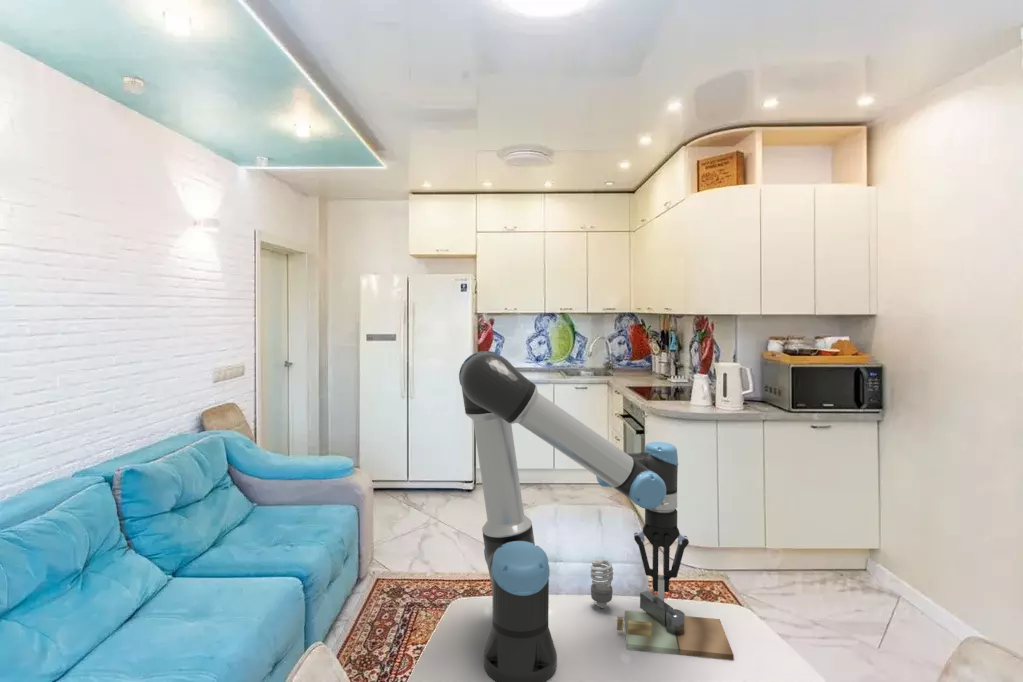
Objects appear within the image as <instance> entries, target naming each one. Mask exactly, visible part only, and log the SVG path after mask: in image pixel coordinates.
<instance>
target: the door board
mask: <svg viewBox="0 0 1023 682" xmlns="http://www.w3.org/2000/svg"><path fill="white" fill-rule="evenodd" d="M616 620H617V621H616V624H617V625H616V627H617V628H616V630H617V631H623V630H624V629H625V645H626V650H631V651H632V650H633V651H640V652H649V653H657V654H658V653H661V654H669V655H680V656H689V657H699V658H708V659H716V660H725V661H726V660H728V661H734V656H735V655H734V652H733V650H732V648H731V644H730V642H729V640H728V636H727V635H726V632H725V629H724V627H723V624H722V621H721V620H720V618H712V617H711V618H710V617H702V616H690V615H685V623H684V634H682V635H673V634H671V633H669V632H667V630H666V626H664V625H663V624H661V623H660V622H658V621H657V620H656V619H654V618H653V617H652V616H650V615H649V614H648V613H646V612H645V611H635V610H624V617H623V616H617V617H616ZM623 620H624V621H623ZM623 622H624V623H623ZM624 627H625V628H624Z"/></svg>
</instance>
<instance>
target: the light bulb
mask: <svg viewBox="0 0 1023 682" xmlns="http://www.w3.org/2000/svg"><path fill="white" fill-rule="evenodd" d="M591 564H592V565H590V578H591V583H592V584H591V585H590V586H591V587H590V595H591V596H590V597H591V599H592V600H593V601H594V602H595V603H596V606H597V607H599V608H600V609H603V608H606V607H607V604H608V603H609V602H611V601H612V599H613V592H614V591H613V587H612V581H613V580H614V572H613V571H614V568H613V565H612V563H611V562H610V561H609V560H608V559H594V560H592V561H591Z"/></svg>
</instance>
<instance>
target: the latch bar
mask: <svg viewBox="0 0 1023 682" xmlns="http://www.w3.org/2000/svg"><path fill="white" fill-rule="evenodd" d="M639 608H640V609H642V611H643V612H646V613H648V614H649V615H650V616H652V617H653V618H654V619H656V620H657V621H658V622H660V623H661V624H663V625H664V626H666V630H667V632H669V633H671V634H673V635H682V634H684V623H685V616H686V614H685V613H684V611H683V610H680V609H677V608H674V607H673V606H671V605H670V604H668V603H667V602H666V601H665V600H664V601H662V600H661V599H659V598H658V597H657V595H655V594H654V593H652V592H651V591H649V590H644V591H642V592H639Z"/></svg>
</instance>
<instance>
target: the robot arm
mask: <svg viewBox="0 0 1023 682" xmlns="http://www.w3.org/2000/svg"><path fill="white" fill-rule="evenodd" d="M460 366H461V367H460V368H459V372H458V380H459V385H460V386H461V392H462V399H463V407H464V412H465V415H466V416H467V417H469V418H470V419H471V420H472V422H473V427H474V434H475V442H476V449H477V455H478V457H477V458H478V464H479V469H480V477H481V484H482V491H483V492H482V493H483V499H484V505H485V512H486V518H487V520H486V522H485V524H484V525H483V526H482V536H483V537H482V538H483V545H484V549H483V552H484V553H483V554H484V555H483V556H484V559H485V563H486V565H487V570H488V574H489V579H490V585H491V591H492V626H491V629H490V633H489V635H488V639H487V642H486V645H485V648H484V653H483V667H484V670H485V672H486V673H487V675H488V677H490V678H491V679H492V680H494V681H496V682H546V681H547V680H549V679H550V678H551V677H553V676H554V675H555V673H556V670H557V665H558V663H557V661H558V660H557V659H558V655H557V654H558V653H557V650H556V646H555V643H554V639H553V636H552V634H551V631H550V628H549V608H550V607H549V604H550V603H549V601H550V599H549V594H550V593H549V592H550V591H549V588H550V587H549V586H550V584H549V583H550V580H549V579H550V571H551V570H550V564H549V559H548V557H549V556H548V555H547V553H546V551H545V550H544V549H543V548H542V547H540V546H539V545H536V543H535V536H534V528H533V523H532V519H530V518H529V517H528V516H526V515H525V512H524V506H523V499H522V497H523V496H522V491H521V484H520V477H519V475H520V474H519V470H518V469H519V468H518V462H517V456H516V455H517V453H516V447H515V441H514V434H513V427H512V426H513V424H519V425H520V426H522V427H523V428H525V429H526V430H528V431H529V432H531V433H532V434H534V435H535V436H537V437H538V438H539V439H541V440H542V441H544V442H545V443H546V444H548V445H550V446H551V447H553V448H554V449H555V450H556V451H557V450H558V451H559V452H560V453H562V454H563V455H564V456H566V457H568V458H569V459H571V460H572V461H574V462H576V464H578V465H580V466H581V467H583V468H584V469H586V470H587V471H588V472H590V473H591V474H593V475H595V477H596V480H597V483H598V485H600V486H601V487H606V488H607V487H608V488H614V489H615V490H616V491H618V492H619V493H621V494H622V495H624V496H625V497H627V498H628V499H629V500H631V502H632V503H634V505H636V506H638V507H639V508H642V509H644V526H643V527H642V530H640V531H639V532H634V534H633V537H634V539H633V540H634V541H635V543H636V544H637V546H638V548H639V553H640V556H641V561H642V565H643V569H644V574H645V575H646V576H647V577H651V578H652V590H653V592H657V593H656V597H658V598H659V599H661V600H662V601H664V602H665V593H669V592H670V580H671V579H672V578H673V579H676V578H677V577H678V574H679V570H680V567H681V563H682V559H683V556H684V553H685V549H686V548H687V547H688V546H689V543H690V542H689V538H688V536H687V535H683V534H682V533H680V530H679V528H678V510H677V509H678V473H679V472H678V468H679V467H678V466H679V461H678V460H679V459H678V449H677V447H676V446H675V445H673V444H672V443H670V442H666V441H665V442H664V441H652V442H648V443H646V444H645V448H644V451H643V452H629V453H628V452H627V453H626V451H624V450H622V449H620V448H619V447H617V446H616V445H615V444H614V443H612V442H611V441H610V440H608V439H606V438H604V437H603V436H601V434H599V433H597V432H596V431H594V430H593V429H592V428H590V427H588V425H586V424H584V423H583V422H582V421H580V420H579V419H577V418H576V417H575V416H573V415H571V414H570V413H568V411H565V410H564V409H562V407H560V406H558V405H557V404H555V403H554V402H552V401H551V400H550V399H548V398H547V397H545V396H544V395H542V394H541V393H539V391H538V386H537V385H536V384H535V383H533V382H532V380H531V381H530V379H528V378H527V377H525V376H524V375H523V374H522V373H521V372H520V371H519V370H518V369H517V368H516V367H515V366H514V365H513V364H512V363H511V362H510V360H508V359H506V358H505V357H503V356H502V355H500V354H499V353H497V352H494V351H491V350H485V351H484V350H481V351H477V352H475V353H472V354H471V355H469V356H468V357H467V358H466V359H464V361H463V363H462V364H461V365H460ZM645 537H646V539H647V540H648V542H649V543H650V545H652V566H651V567H652V568H651V567H650V563H649V559H648V555H647V551H646V547H645V543H644V542H645ZM676 540H677V547H676V549H675V550H676V551H675V554H674V558H673V561H672V565H671V568H670V551H671V548H670V547H671V546H672V545H673V544H674V542H675V541H676ZM660 547H661V548H663V549H662V551H663V553H662V554H663V555H662V556H663V561H662V562H663V563H662V566H663V567H662V568H663V571H662V573H663V574H659V548H660Z"/></svg>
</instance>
